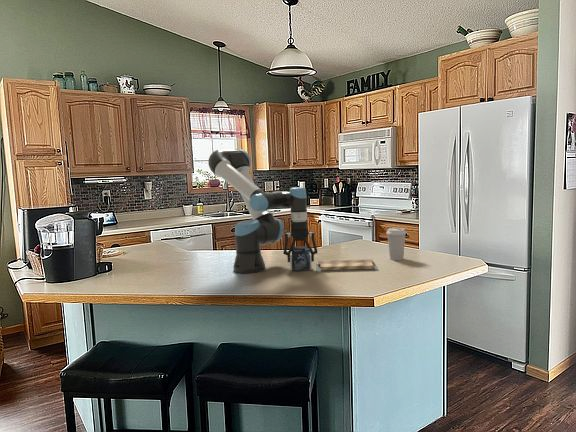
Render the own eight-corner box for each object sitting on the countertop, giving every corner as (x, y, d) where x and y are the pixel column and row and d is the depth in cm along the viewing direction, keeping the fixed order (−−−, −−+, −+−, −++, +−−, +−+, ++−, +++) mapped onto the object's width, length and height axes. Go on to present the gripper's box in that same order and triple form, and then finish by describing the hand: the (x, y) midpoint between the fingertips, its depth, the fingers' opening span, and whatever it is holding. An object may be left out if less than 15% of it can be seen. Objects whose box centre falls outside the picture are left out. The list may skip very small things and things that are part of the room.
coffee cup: (408, 260, 214) (408, 230, 212) (389, 261, 214) (388, 231, 212) (404, 256, 223) (403, 227, 221) (385, 257, 223) (384, 228, 222)
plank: (320, 270, 201) (320, 267, 200) (320, 266, 208) (320, 263, 208) (373, 268, 199) (373, 265, 199) (371, 265, 207) (371, 262, 206)
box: (293, 271, 203) (292, 249, 201) (292, 268, 208) (291, 246, 207) (310, 270, 204) (309, 247, 202) (308, 267, 209) (307, 245, 208)
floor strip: (318, 266, 208) (318, 263, 208) (318, 264, 214) (318, 260, 214) (373, 265, 207) (373, 261, 206) (372, 262, 212) (372, 259, 212)
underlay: (316, 272, 200) (316, 271, 200) (316, 264, 215) (316, 263, 215) (378, 270, 198) (378, 269, 198) (374, 262, 213) (374, 262, 213)
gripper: (275, 222, 200) (277, 271, 203) (322, 221, 199) (324, 270, 201) (277, 220, 208) (279, 267, 210) (322, 219, 206) (323, 266, 209)
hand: (301, 268), depth 206 cm, fingers closed on box, 8 cm apart
